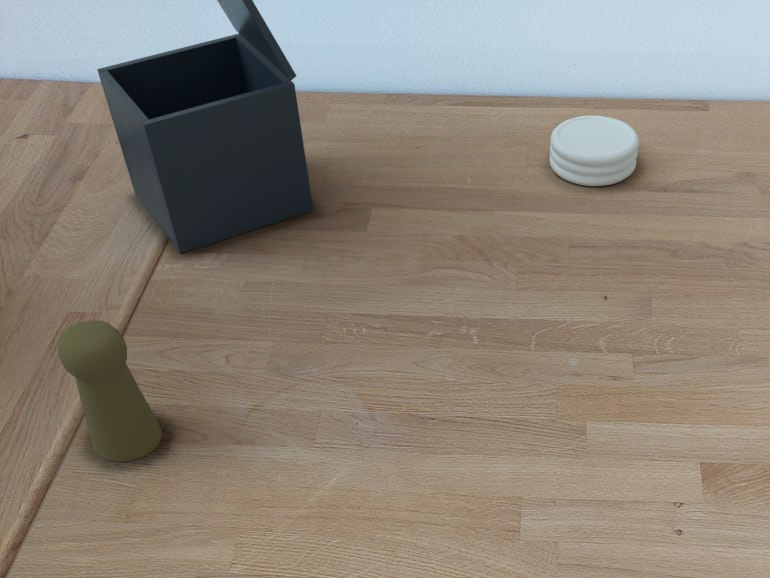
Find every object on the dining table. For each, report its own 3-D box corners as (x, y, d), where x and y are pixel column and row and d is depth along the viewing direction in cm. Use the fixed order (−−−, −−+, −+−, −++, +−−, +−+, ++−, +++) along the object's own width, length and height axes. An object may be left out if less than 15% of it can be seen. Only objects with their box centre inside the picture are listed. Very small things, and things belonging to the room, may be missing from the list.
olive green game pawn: (77, 444, 84) (29, 338, 75) (128, 406, 87) (88, 300, 78) (125, 471, 82) (82, 366, 73) (176, 432, 85) (141, 326, 76)
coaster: (652, 163, 112) (657, 132, 109) (600, 198, 108) (603, 167, 105) (584, 135, 116) (587, 104, 113) (531, 167, 111) (532, 136, 109)
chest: (180, 253, 101) (144, 124, 91) (135, 195, 108) (96, 68, 97) (313, 210, 106) (294, 83, 95) (262, 157, 113) (239, 32, 102)
